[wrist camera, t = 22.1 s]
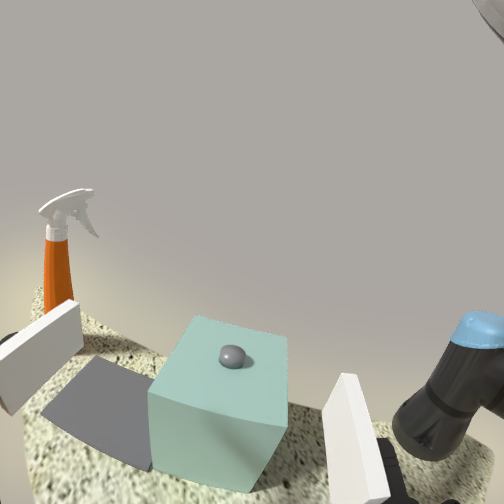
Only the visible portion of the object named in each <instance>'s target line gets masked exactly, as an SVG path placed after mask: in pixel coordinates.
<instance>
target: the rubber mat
mask: <svg viewBox="0 0 504 504" xmlns="http://www.w3.org/2000/svg"><path fill="white" fill-rule="evenodd" d="M154 380H155V379H152V378H149V377H147V376H144V375H141V374H139V373H136V372H134V371H131V370H129V369H126V368H124V367H121V366H119V365H117V364H114V363H112V362H110V361H108V360H106V359H103V358H101V357H99V356H97V355H96V356H95V357H94V358H93V359H92V360H91V361H90V362H89V363H88V364H87V365H86V366H85V367H84V368H83V369H82V370H81V371H80V372H79V373H78V374H77V375H76V376H75V377H74V378H73V379H72V380H71V381H70V382H69V383H68V384H67V385H66V386H65V387H64V388H63V389H62V390H61V391H60V392H59V393H58V395H57V396H56V397H55V398H54V399H53V400H52V401H51V402H50V403H49V404H48V405H47V406H46V407H45V408H44V409H43V410H42V412H41V415H42V416H44V417H45V418H46V419H48V420H49V421H51V422H52V423H54V424H55V425H57V426H58V427H60V428H61V429H63V430H64V431H66V432H67V433H69V434H71V435H72V436H74V437H76V438H77V439H79V440H81V441H83V442H84V443H86V444H88V445H90V446H91V447H93V448H95V449H97V450H99V451H101V452H103V453H105V454H107V455H109V456H111V457H113V458H115V459H117V460H119V461H122V462H124V463H126V464H128V465H131V466H133V467H135V468H138V469H140V470H143V471H145V472H148V470H149V468H150V466H151V463H152V456H151V445H150V433H149V418H148V394H147V391H148V390H149V388H150V386H151V385H152V383H153V382H154Z"/></svg>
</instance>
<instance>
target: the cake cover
mask: <svg viewBox="0 0 504 504" xmlns="http://www.w3.org/2000/svg"><path fill="white" fill-rule="evenodd" d="M287 380H288V378H287V338H286V337H283V336H278V335H274V334H269V333H265V332H260V331H256V330H252V329H247V328H243V327H239V326H235V325H231V324H227V323H223V322H220V321H216V320H212V319H208V318H205V317H201V316H197V315H195V317H194V318H193V320H192V321H191V323H190V325H189V326H188V328H187V330H186V331H185V332H184V334H183V336H182V337H181V339H180V340H179V342H178V343H177V345H176V347H175V348H174V350H173V351H172V353H171V355H170V356H169V358H168V359H167V361H166V362H165V364H164V366H163V367H162V369H161V370H160V372H159V374H158V375H157V377H156V378H155V380H154V382H153V383H152V385H151V386H150V388H149V390H148V391H147V394H148V418H149V433H150V445H151V456H152V465H153V469H155V470H158V471H161V472H164V473H167V474H170V475H173V476H176V477H179V478H182V479H186V480H189V481H193V482H196V483H200V484H204V485H208V486H212V487H217V488H221V489H226V490H231V491H237V492H242V493H249V492H250V491H251V489H252V488H253V486H254V484H255V483H256V481H257V480H258V478H259V477H260V475H261V473H262V472H263V470H264V468H265V467H266V465H267V463H268V462H269V460H270V458H271V457H272V455H273V453H274V451H275V450H276V448H277V446H278V444H279V442H280V441H281V439H282V437H283V435H284V433H285V431H286V429H287V428H288V389H287V388H288V387H287V386H288V381H287Z"/></svg>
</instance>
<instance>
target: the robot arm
mask: <svg viewBox="0 0 504 504" xmlns="http://www.w3.org/2000/svg"><path fill="white" fill-rule="evenodd" d="M472 1H473V3H474V4H475V6H476V8H477V9H478V11H479V12H480V14H481V16H482V17H483V19H484V20H485V22H486V23H487V24H488V26H489V27H490V28H491V30H492V31H493V32H494V33H495V34H496V35H497V37H498V38H499V39H500V40H501V41H502V42H503V44H504V0H472ZM450 339H451V340H450V342H449V344H448V346H447V348H446V350H445V352H444V354H443V356H442V357H441V359H440V361H439V363H438V364H437V366H436V368H435V370H434V371H433V373H432V374H431V376H430V378H429V379H428V381H427V383H426V384H425V385H424V386H423V387H422V388H421V389H420V390H419V391H417V392H416V393H415V394H414V395H413V396H412V397H410V398H409V399H408V400H406V401H405V402H404V403H403V404H402V405H401V406H400V408H399V409H398V411H397V412H396V413H395V415H394V418H393V421H392V428H393V432H394V435H395V437H396V439H397V441H398V442H399V443H400V445H401V446H402V447H403V448H404V449H405V450H406V451H407V452H409V453H410V454H412V455H413V456H415V457H417V458H420V459H422V460H427V461H439V460H443V459H445V458H447V457H448V456H450V455H451V454H452V453H453V452H454V451H455V449H456V448H457V447H458V446H459V445H460V443H461V441H462V438H463V437H464V435H465V433H466V430H467V428H468V426H469V424H470V422H471V419H472V417H473V416H474V414H475V413H476V412H477V410H478V409H479V408H480V406H483V407H484V408H486V409H488V410H489V411H491V412H493V413H494V414H496V415H498V416H499V417H501V418H502V419H504V317H503V316H500V315H497V314H494V313H490V312H486V311H470V312H468V313H466V314H465V315H464V316H463V317H462V318H461V320H460V322H459V324H458V326H457V328H456V330H455V332H454V333H453V334H452V335H451V337H450ZM83 347H84V340H83V333H82V325H81V316H80V305H79V303H77V302H75V301H73V300H70V299H68V300H67V301H65V302H64V303H62V304H60V305H59V306H57V307H56V308H54V309H53V310H51V311H50V312H48V313H47V314H45V315H44V316H42V317H41V318H39V319H38V320H36V321H35V322H33V323H32V324H30V325H29V326H27V327H26V328H24V329H23V330H21V331H20V332H15V333H13V334H9V335H7V336H6V337H4V338H3V339H2V340H1V341H0V405H1V407H2V408H3V409H4V410H5V411H6V412H7V413H8V414H9V415H11V416H13V415H14V414H15V413H16V412H17V411H18V410H19V409H20V408H21V407H22V406H23V405H24V404H25V403H26V402H27V401H28V400H29V399H30V398H31V397H32V396H33V395H34V394H35V393H36V392H37V391H38V390H39V389H40V388H41V387H42V386H43V385H44V384H45V383H46V382H47V381H48V380H49V379H50V378H51V377H52V376H53V375H54V374H55V373H56V372H57V371H58V370H59V369H60V368H61V367H62V366H63V365H65V364H66V363H67V362H68V361H69V360H70V359H71V358H72V357H73V356H74V355H75V354H76V353H77V352H78V351H79V350H81V349H82V348H83ZM322 420H323V429H324V437H325V447H326V456H327V467H328V478H329V490H330V504H419V503H418V501H416V500H415V499H413V498H410V497H409V496H408V494H407V491H406V487H405V484H404V480H403V476H402V473H401V470H400V466H398V465H399V463H398V460H397V458H396V457H397V456H396V453H395V450H394V447H393V445H392V444H391V443H390V442H389V440H388V439H387V438H376V436H375V432H374V429H373V426H372V422H371V419H370V415H369V412H368V409H367V406H366V402H365V399H364V396H363V393H362V390H361V387H360V384H359V381H358V377H357V374H348V373H341V375H340V377H339V379H338V381H337V383H336V385H335V387H334V389H333V391H332V393H331V395H330V397H329V399H328V401H327V403H326V404H325V406H324V408H323V410H322ZM0 504H1V502H0ZM442 504H460V503H459V502H458V501H457V500H454V499H450V500H447V501H445V502H443V503H442Z"/></svg>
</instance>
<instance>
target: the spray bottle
mask: <svg viewBox="0 0 504 504" xmlns="http://www.w3.org/2000/svg"><path fill="white" fill-rule="evenodd" d="M93 196H94V191H93V189H83V188H82V189H78V190H74V191H71V192H68V193H66V194H63V195H61V196H59V197H57V198H55V199H53V200H51V201H50V202H48V203H47V204H45V205H44V206H43V207H42V208H41V209H40V210H39V213H40V215H42V216H44V217H46V218H49V223H48V225H47V228H46V245H45V261H44V314H47V313H48V312H50V311H51V310H53V309H54V308H56V307H57V306H59V305H60V304H62V303H64V302H65V301H67V300H68V299H70V300H73V301H74V297H73V290H72V283H71V275H70V267H69V256H68V241H67V227H68V226H67V225H66V217H67V216H69V215H71V216H74V217H76V219H77V220H79V221H80V222H81V224H82V225H83V226H84V227H85V228H86V229H87V230H88V231H89V232H90V233H91V234H92V235H94V236H95V237H97V238H99V236H98V235H97V234H96V232H95V231H94V229H93V227H92V225H91V224H90V221H89V219H88V217H87V214H86V208H87V204H86V201H85V200H86V199H89V198H92V197H93ZM73 210H78V211H77V213H76V212H74V211H73Z"/></svg>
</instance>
